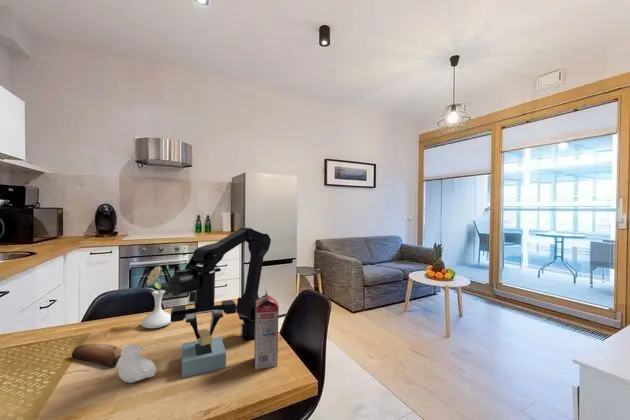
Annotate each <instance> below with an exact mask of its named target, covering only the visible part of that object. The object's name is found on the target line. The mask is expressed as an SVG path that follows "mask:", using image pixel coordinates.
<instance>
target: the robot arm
mask: <svg viewBox="0 0 630 420" xmlns="http://www.w3.org/2000/svg"><path fill="white" fill-rule="evenodd" d="M271 241H272V240H271V237H270V235H269V234H268V233H262V232H260V231H257V230H255V229H253V228H251V227H243V226H242V227H240V228H239V229H237V230H236V231H234V232H232V233H230V234H229V235H227V236H225V237H223V238H221V239H220V240H218V241H217V242H214V243H210V244H205V245H202V246H199V247H197V248H196V249H194V251H193V254H192V256H191V258H190V259H189V261H188V263H187V264H186V265H185V267H184V269H183V270H174V272H173V275H172V276H171V277H170V280H169V282H168V289H169V291H170V293H171V295H173V296H175V297H177V296H180V295H184V294H189V295H188V297H189V300H188V301H189V303H193V302H194V303H193V306H194V307H191V308H190V307H189V308H186V305H179V306H178V305H177V306H173V307H171V310H170V315H171V323H176V322H182V321H184V320H185V323H186V324H187V323H189V324H190V326H191V328H192V329H193V332H194V335H195V338H197V339H198V330H199V329H198V322H197V315H199V314H207V313H211V318H210V325H209V332H210V334H211V335H212V336H213V333H214V331H215V328H216V326H217V324H218V322H219V321H220V319H221V318H224V315H223V312H224V314H225V315H232V314H237V315H238V319H239V321H241V320H242V323H241V325H240V326H241V327H240V328H241V329H240V337H242V339H243V340H244V341H245V342H246V341H251V340H255V309H256V300H257V299H258V298H260V297H259V288H260V282H261V274H262V269H263V262H264V257H265V255H266V254H267V253H268V252H269V250H270V246H271V244H272V243H271ZM244 242H246V243H248V244H247V245H248V246H247V248H248V251H249V255H250V257H249V265H248V270H247V276H246V281H245V282H246V283H245V288H244V293H243V295H241V297H238V298H237V299H236V303H235V301H234V300H233V299H229V300H221V304H216V305H215V301H216V300H215V299H216V298H215V296H216V295H215V294H216V292H215V291H216V273H219V272H221V271H222V269H221V268H220V267H218V265H217V264H218V263H220V262H221V261H222V260H223V258H224V256H225V255H226V254H227V253H228V252H230V251H231V250H233V249H235V248H236V247H238V246H239V245H241V244H242V243H244ZM197 339H196V340H197Z"/></svg>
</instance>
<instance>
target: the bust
mask: <svg viewBox="0 0 630 420" xmlns="http://www.w3.org/2000/svg"><path fill="white" fill-rule="evenodd" d="M121 349H122V351H121V357H120V358H119V360H118V363H117V365H116V367H115V368H117V371H118V377H119V378H120V379H121V380H122V381H123V382H125V383H128V384H129V383H130V384H133V383H136V382H140V381H141V380H143V379H149V378H152V377H154V376H155V374H156V372H157V368H156V367H157V366H156V365H155V363H154V362H153V361H152V360H151V359H147V358H145V357H144V356H142V355H141V354H140V353H141V351H142V350H144V349H143V346H142V345H136V344H135V343H129V344H124V345H123V346H122V347H121Z"/></svg>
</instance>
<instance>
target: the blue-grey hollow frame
mask: <svg viewBox="0 0 630 420" xmlns="http://www.w3.org/2000/svg"><path fill="white" fill-rule="evenodd" d="M226 368H227V352H226V348H225V345H224V342H223V339H222V336H217V337H212V343H211V344H207V345H204V346H201V345H200V343H199V342H198V340H195V341H194V340H193V341H188V342H182V343H181V378H182V379H183V378H188V377H193V376H197V375H202V374H205V373H209V372H214V371H218V370H219V371H220V370H224V369H226Z"/></svg>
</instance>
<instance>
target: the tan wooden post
mask: <svg viewBox="0 0 630 420" xmlns="http://www.w3.org/2000/svg"><path fill="white" fill-rule="evenodd" d="M195 338H196V337H195ZM212 338H213V334H212V335H211V334H210V330H209V329H207V328H202V329H198V339H197V338H196V339H195V340H196V341H198V342H199V343H200V345H201V346H204V345H207V344H211V343H212Z"/></svg>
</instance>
